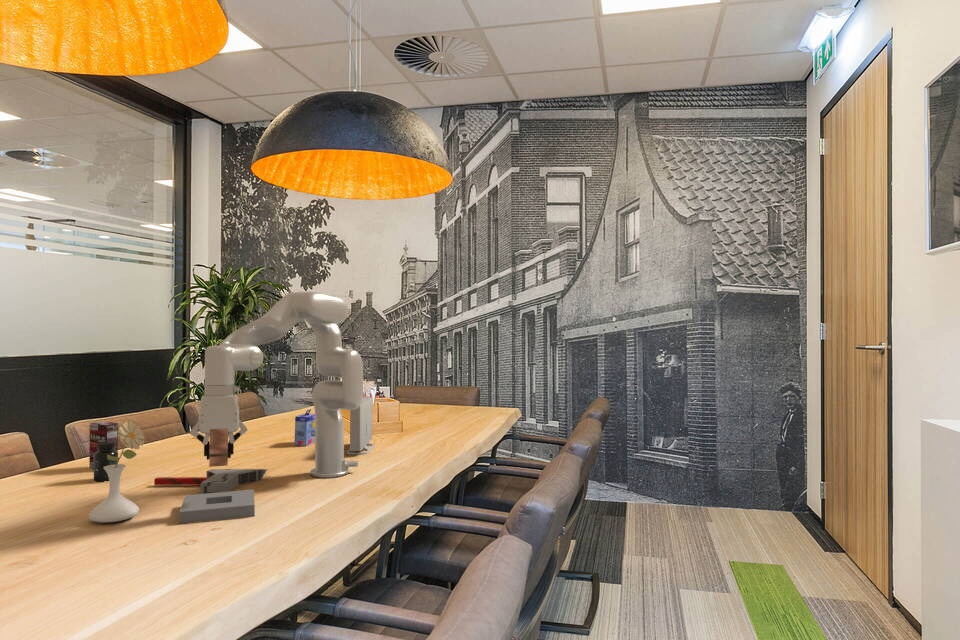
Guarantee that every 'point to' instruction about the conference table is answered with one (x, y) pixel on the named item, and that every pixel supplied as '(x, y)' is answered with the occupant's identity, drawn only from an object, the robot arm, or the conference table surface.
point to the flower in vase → (115, 503)
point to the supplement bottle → (103, 460)
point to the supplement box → (102, 437)
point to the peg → (218, 447)
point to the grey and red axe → (216, 479)
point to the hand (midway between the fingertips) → (218, 457)
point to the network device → (361, 428)
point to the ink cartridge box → (305, 429)
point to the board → (217, 506)
